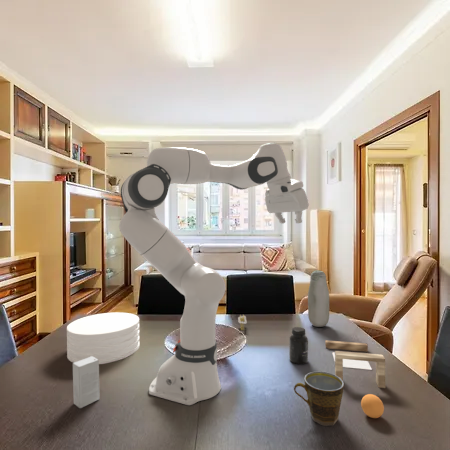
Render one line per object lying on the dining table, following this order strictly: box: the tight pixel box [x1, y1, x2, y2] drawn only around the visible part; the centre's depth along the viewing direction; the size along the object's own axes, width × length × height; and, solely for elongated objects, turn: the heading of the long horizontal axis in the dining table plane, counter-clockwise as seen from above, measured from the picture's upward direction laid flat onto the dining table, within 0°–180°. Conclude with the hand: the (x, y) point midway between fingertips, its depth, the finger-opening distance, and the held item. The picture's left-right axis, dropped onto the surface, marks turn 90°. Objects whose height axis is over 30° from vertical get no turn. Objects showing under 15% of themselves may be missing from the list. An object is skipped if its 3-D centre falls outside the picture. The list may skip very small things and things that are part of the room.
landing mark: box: [332, 351, 373, 371], centre depth 112 cm, size 12×12×1 cm
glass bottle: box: [307, 269, 330, 328], centre depth 150 cm, size 10×10×28 cm
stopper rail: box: [324, 339, 369, 353], centre depth 123 cm, size 16×2×2 cm, turn 76°
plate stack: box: [66, 311, 141, 365], centre depth 125 cm, size 28×28×12 cm
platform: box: [237, 314, 248, 332], centre depth 148 cm, size 12×18×7 cm, turn 179°
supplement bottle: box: [288, 326, 309, 365], centre depth 113 cm, size 7×7×12 cm
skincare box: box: [72, 356, 101, 409], centre depth 88 cm, size 6×4×12 cm
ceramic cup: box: [293, 370, 345, 427], centre depth 80 cm, size 13×10×10 cm
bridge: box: [334, 350, 386, 389], centre depth 97 cm, size 3×14×9 cm, turn 76°
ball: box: [360, 393, 385, 419], centre depth 80 cm, size 6×6×6 cm
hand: (290, 222), depth 111 cm, fingers open, 8 cm apart
